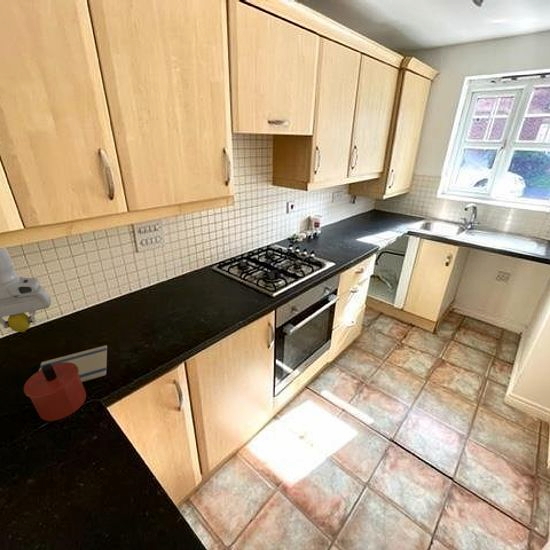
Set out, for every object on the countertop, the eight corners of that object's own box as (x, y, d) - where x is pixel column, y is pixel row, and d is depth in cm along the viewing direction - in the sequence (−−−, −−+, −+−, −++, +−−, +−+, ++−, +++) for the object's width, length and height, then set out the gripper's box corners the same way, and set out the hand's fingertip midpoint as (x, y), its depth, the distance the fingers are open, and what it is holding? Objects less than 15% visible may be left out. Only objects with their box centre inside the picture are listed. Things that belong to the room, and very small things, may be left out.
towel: (31, 397, 90) (30, 396, 90) (42, 363, 103) (41, 362, 103) (106, 375, 98) (105, 373, 97) (107, 346, 110) (106, 345, 110)
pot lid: (19, 406, 76) (11, 392, 74) (30, 373, 86) (23, 360, 84) (76, 389, 81) (70, 375, 79) (81, 359, 91) (75, 346, 89)
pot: (35, 427, 81) (21, 402, 77) (43, 396, 90) (31, 372, 86) (84, 411, 85) (74, 386, 81) (87, 383, 95) (78, 359, 90)
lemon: (13, 338, 99) (4, 318, 96) (13, 331, 103) (4, 311, 100) (34, 332, 102) (25, 312, 99) (33, 325, 106) (24, 305, 103)
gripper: (-43, 299, 89) (-23, 337, 95) (40, 285, 97) (54, 321, 103) (-35, 290, 94) (-16, 327, 100) (44, 278, 102) (57, 312, 108)
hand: (20, 324), depth 101 cm, fingers closed on lemon, 5 cm apart
